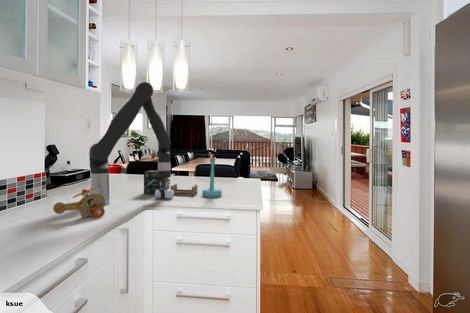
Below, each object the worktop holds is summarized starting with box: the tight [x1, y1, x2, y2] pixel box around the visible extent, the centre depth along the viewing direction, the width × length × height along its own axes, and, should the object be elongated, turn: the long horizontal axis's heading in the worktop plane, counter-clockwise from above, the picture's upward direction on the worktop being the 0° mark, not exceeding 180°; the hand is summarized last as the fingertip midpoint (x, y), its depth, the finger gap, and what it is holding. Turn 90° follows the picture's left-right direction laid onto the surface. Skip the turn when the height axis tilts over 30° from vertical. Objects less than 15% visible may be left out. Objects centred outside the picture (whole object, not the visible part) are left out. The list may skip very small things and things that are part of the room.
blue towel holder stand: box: [201, 156, 223, 198], centre depth 183 cm, size 12×12×25 cm
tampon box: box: [143, 170, 161, 195], centre depth 189 cm, size 11×9×15 cm
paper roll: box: [154, 189, 175, 200], centre depth 173 cm, size 11×5×5 cm, turn 84°
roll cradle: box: [170, 183, 198, 197], centre depth 187 cm, size 10×15×6 cm, turn 85°
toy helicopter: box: [52, 187, 106, 219], centre depth 129 cm, size 8×21×14 cm, turn 129°
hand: (164, 197), depth 174 cm, fingers closed on paper roll, 5 cm apart
